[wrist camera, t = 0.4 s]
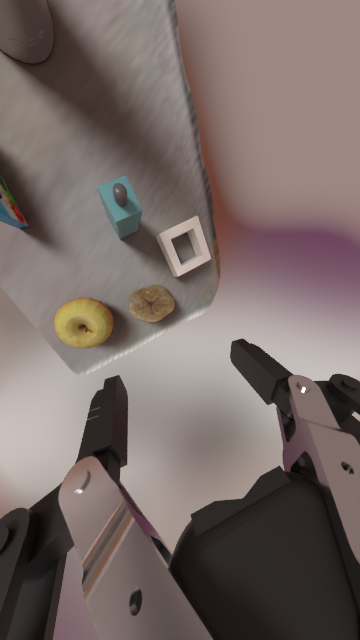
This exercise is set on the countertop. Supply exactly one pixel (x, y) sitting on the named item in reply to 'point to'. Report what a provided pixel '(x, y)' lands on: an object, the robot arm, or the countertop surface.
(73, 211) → the countertop surface
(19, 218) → the blue printed box
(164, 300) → the fossil
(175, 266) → the socket
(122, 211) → the teal block with knob
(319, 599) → the robot arm
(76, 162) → the countertop surface
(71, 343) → the apple
